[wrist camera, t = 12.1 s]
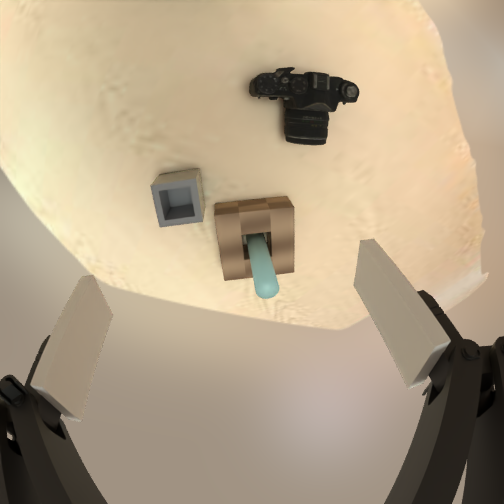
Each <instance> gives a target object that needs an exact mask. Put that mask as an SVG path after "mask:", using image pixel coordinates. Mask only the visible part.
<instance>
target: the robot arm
mask: <svg viewBox="0 0 504 504" xmlns="http://www.w3.org/2000/svg"><path fill="white" fill-rule="evenodd" d="M354 287H355V289H356V290H357V292H358V294H359V296H360V297H361V299H362V301H363V303H364V304H365V306H366V308H367V310H368V312H369V313H370V315H371V317H372V319H373V321H374V323H375V325H376V326H377V328H378V330H379V332H380V334H381V335H382V338H383V340H384V342H385V343H386V346H387V347H388V349H389V351H390V353H391V355H392V357H393V359H394V361H395V363H396V365H397V367H398V370H399V372H400V374H401V376H402V378H403V380H404V382H405V384H406V386H407V388H408V389H410V388H412V387H415V386H417V385H420V384H422V383H423V382H424V381H425V380H426V378H427V376H428V375H429V377H430V378H431V382H430V384H429V385H428V386H427V388H426V389H425V390H424V392H423V394H422V395H425V394H426V393H427V396H426V400H425V403H424V407H423V410H422V413H421V417H420V420H419V423H418V426H417V429H416V432H415V435H414V438H413V441H412V443H411V446H410V449H409V451H408V454H407V456H406V458H405V461H404V463H403V466H402V468H401V470H400V472H399V475H398V477H397V479H396V481H395V483H394V485H393V487H392V490H391V491H390V494H389V496H388V497H387V499H386V501H385V503H384V504H452V502H453V500H454V497H455V495H456V491H457V489H458V486H459V483H460V480H461V477H462V474H463V471H464V468H465V464H466V461H467V469H466V479H465V487H464V493H463V499H462V504H504V336H503V337H499V338H498V339H497V340H496V342H495V343H494V344H493V345H492V346H481V347H479V346H478V344H476V343H475V342H474V341H472V340H469V339H463V338H462V337H461V335H460V334H459V332H458V331H457V330H456V328H455V327H454V325H453V324H452V322H451V321H450V320H449V318H448V317H447V315H446V314H444V311H443V310H442V309H441V307H439V305H438V303H437V302H436V301H435V299H434V298H433V297H432V296H431V295H429V294H428V293H427V292H425V291H424V290H421V291H418V292H417V291H416V290H415V289H414V287H413V286H412V285H411V284H410V282H409V281H408V280H407V278H406V277H405V276H404V275H403V273H402V272H401V271H400V270H399V268H398V267H397V266H396V265H395V263H394V262H393V261H392V260H391V258H390V257H389V256H388V255H387V254H386V252H385V251H384V250H383V249H382V248H381V246H380V245H379V244H378V243H377V242H376V241H375V239H368V240H360V246H359V253H358V260H357V267H356V273H355V279H354ZM112 317H113V313H112V311H111V309H110V307H109V306H108V304H107V302H106V300H105V298H104V296H103V294H102V292H101V290H100V288H99V286H98V284H97V282H96V279H95V277H94V275H89V276H82V277H81V279H80V280H79V282H78V284H77V286H76V287H75V289H74V291H73V293H72V295H71V296H70V298H69V300H68V302H67V304H66V306H65V308H64V310H63V311H62V313H61V316H60V317H59V319H58V321H57V324H56V325H55V328H54V329H53V332H52V334H51V335H49V336H48V337H47V338H46V339H45V341H44V342H43V343H42V345H41V347H40V349H39V352H38V354H37V356H36V359H35V361H34V363H33V365H32V368H31V370H30V373H29V375H28V379H27V381H26V383H25V386H23V385H22V384H21V383H20V382H19V381H18V380H17V379H16V378H15V377H14V376H13V375H7V376H5V377H3V379H1V381H0V397H1V398H0V504H107V502H106V500H105V499H104V497H103V496H102V494H101V493H100V491H99V490H98V488H97V486H96V485H95V483H94V482H93V480H92V478H91V477H90V475H89V473H88V471H87V469H86V468H85V466H84V464H83V462H82V460H81V458H80V456H79V454H78V452H77V450H76V448H75V446H74V444H73V442H72V440H71V438H70V436H69V434H68V431H67V429H66V426H65V424H64V422H63V421H62V420H61V419H60V416H61V413H62V414H63V415H64V416H65V417H67V418H68V419H69V420H74V421H79V422H82V420H83V415H84V411H85V407H86V402H87V399H88V395H89V391H90V387H91V383H92V379H93V376H94V372H95V369H96V366H97V362H98V358H99V355H100V352H101V349H102V346H103V343H104V340H105V337H106V334H107V331H108V328H109V325H110V322H111V320H112ZM494 384H495V390H494ZM7 432H8V433H9V434H11V435H12V437H13V439H12V440H10V439H9V438H7Z"/></svg>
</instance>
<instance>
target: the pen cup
mask: <svg viewBox="0 0 504 504" xmlns="http://www.w3.org/2000/svg"><path fill="white" fill-rule="evenodd" d="M151 190H152V195H153V200H154V204H155V209H156V213H157V218H158V222H159V226H160V227H167V226H174V225H181V224H189V223H197V222H203V218H204V211H205V203H204V196H203V189H202V182H201V175H200V168H199V169H192V170H185V171H179V172H172V173H166V174H160V175H159V176H158V177H157V178H156V179H155V181H154V182H153V183H152V184H151Z"/></svg>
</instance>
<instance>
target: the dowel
mask: <svg viewBox="0 0 504 504" xmlns="http://www.w3.org/2000/svg"><path fill="white" fill-rule="evenodd" d="M246 240H247V245H248V251H249V257H250V262H251V268H252V273H253V279H254V285H255V290H256V294H257V295H258V296H259V297H261V298H264V299H268V298H272V297H274V296H275V295H276V294H277V293H278V292H279V284H278V281H277V278H276V274H275V271H274V267H273V264H272V261H271V257H270V254H269V251H268V247H267V244H266V241H265V237H264V234H263V232H262V233H253V234H246Z"/></svg>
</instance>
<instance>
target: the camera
mask: <svg viewBox="0 0 504 504" xmlns="http://www.w3.org/2000/svg"><path fill="white" fill-rule="evenodd" d="M294 69H295V68H293V67H288V68H278V69H277V70H276V72H274V73H262V74H260V75H258V76H257V77H255V78H254V79H253V80H251V82H250V86H249V92H250V95H251V96H252V97H258V99H260V97H269V99H270V100H277V99H278V97H281V98H283V99H284V107H285V108H286V110H285V130H284V133H285V136H286V141H287V142H290V143H295V144H303V145H323V144H326V139H327V135H328V129H327V127H328V121H329V115H328V112H335V111H336V108H337V106H338V103H339V102H343V105H345V104H346V103H353V102H356V101H357V98H358V96H359V89H358V87H357V85H356V84H354V83H352V82H350V81H347V80H343V79H342V78H340V77H330V76H329V75H328V74H326V73H318V72H306V73H304V74H291V73H290V71H292V70H294Z"/></svg>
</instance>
